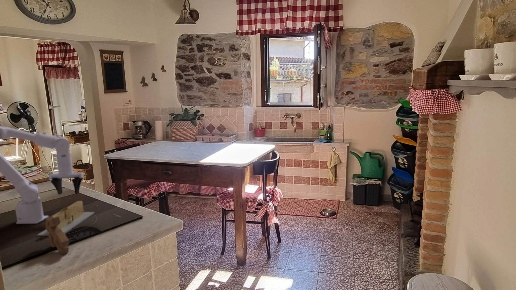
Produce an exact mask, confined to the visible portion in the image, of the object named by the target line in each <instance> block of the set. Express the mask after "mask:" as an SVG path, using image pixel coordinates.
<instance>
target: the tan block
mask: <svg viewBox="0 0 516 290" xmlns="http://www.w3.org/2000/svg"><path fill="white" fill-rule="evenodd" d="M60 212H64V214H65V219H66V218H70V217H72V221H74V220H75V219H77V218H78V217H80V216H81V215H83V214H84V212H85V210H84V203H83V201H82V200H77V201H75V202H74V203H72V204H70V205H69V206H67V207H64V208H62V209H60Z"/></svg>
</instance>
